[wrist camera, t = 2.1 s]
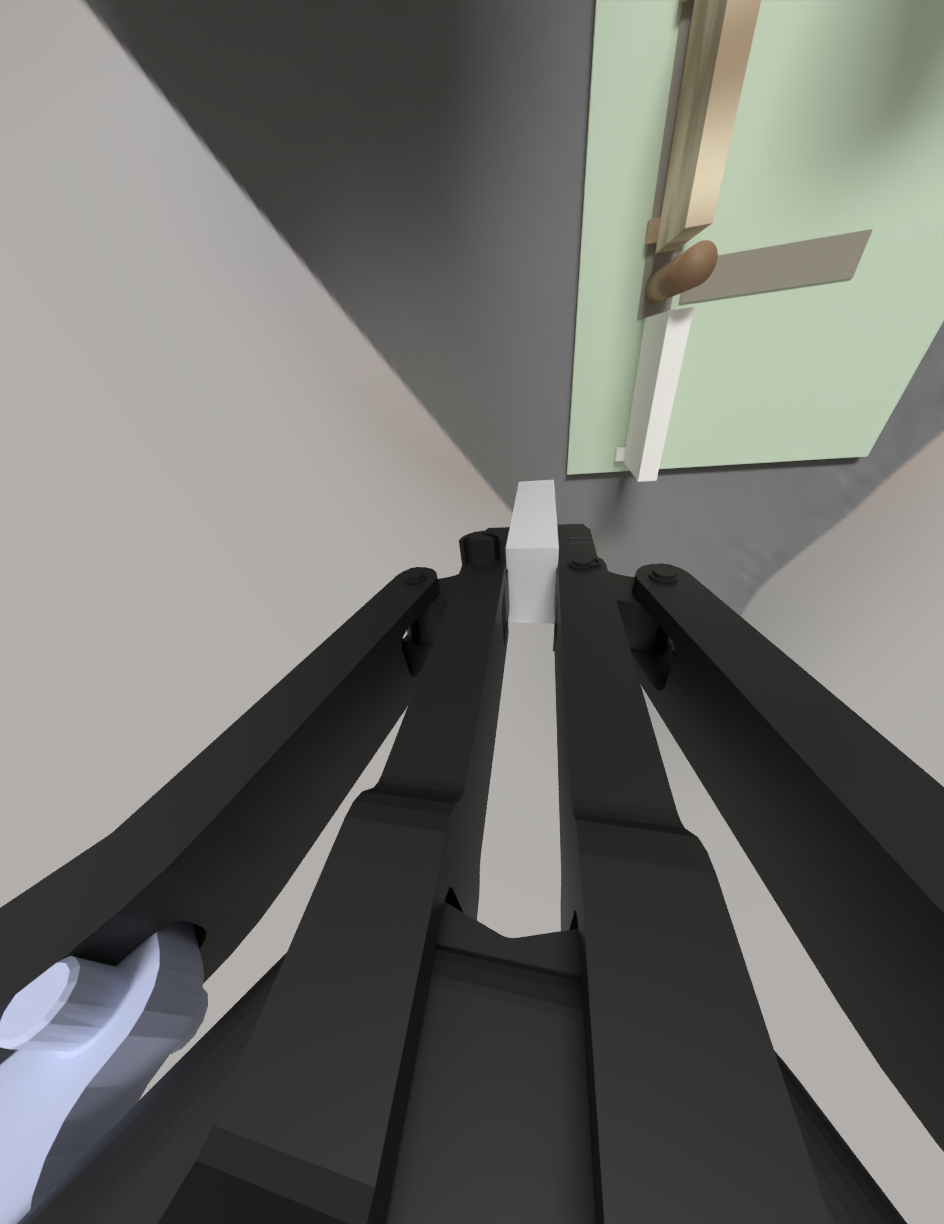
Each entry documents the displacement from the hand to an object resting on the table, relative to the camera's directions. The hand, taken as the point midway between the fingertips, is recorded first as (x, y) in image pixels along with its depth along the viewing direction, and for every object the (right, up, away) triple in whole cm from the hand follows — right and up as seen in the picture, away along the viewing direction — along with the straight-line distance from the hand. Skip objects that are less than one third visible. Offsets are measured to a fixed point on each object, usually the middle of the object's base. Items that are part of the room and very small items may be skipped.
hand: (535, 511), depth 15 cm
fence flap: (+10, +12, +10) cm, 18 cm away
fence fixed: (+9, +21, +4) cm, 23 cm away
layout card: (+15, +17, +6) cm, 24 cm away
